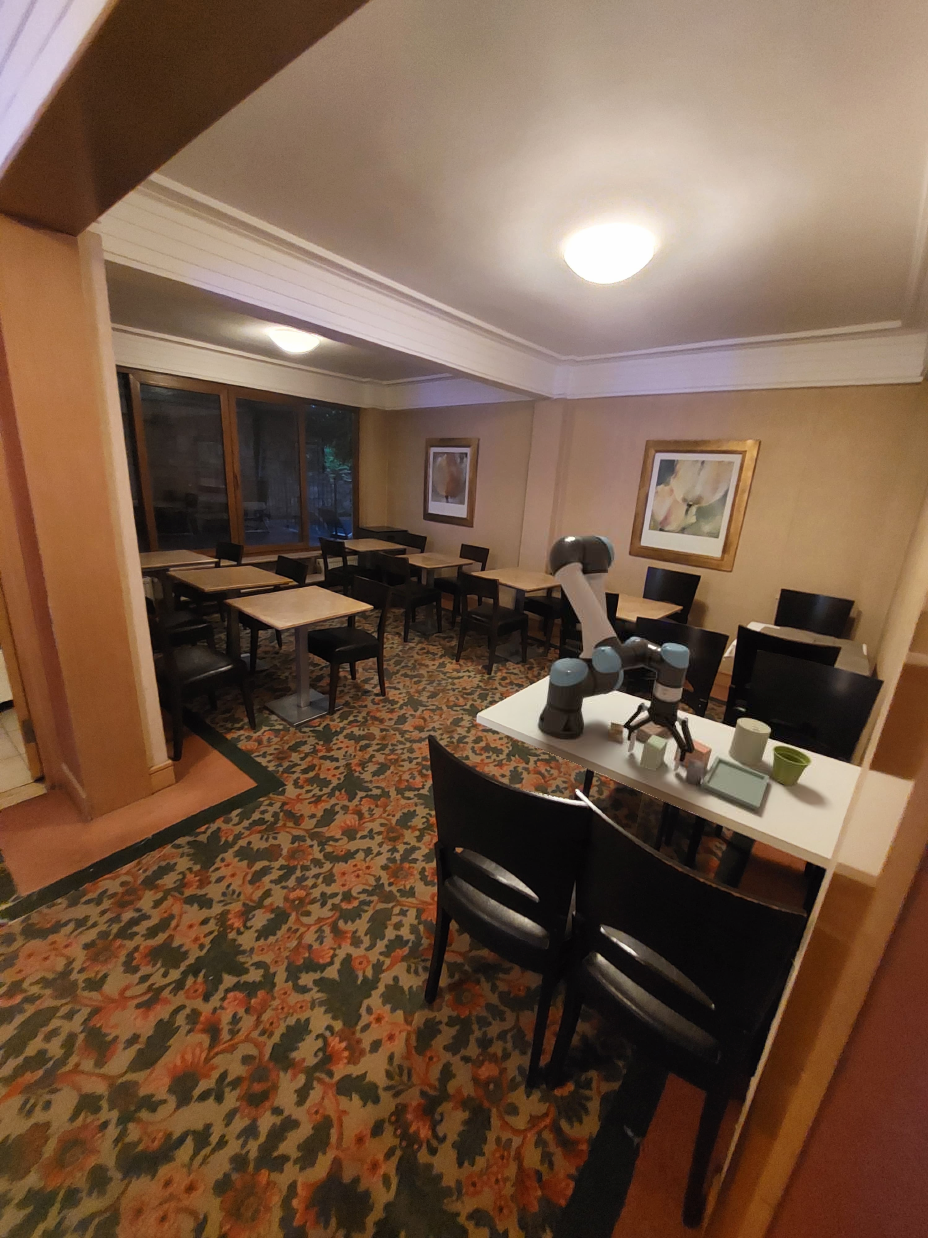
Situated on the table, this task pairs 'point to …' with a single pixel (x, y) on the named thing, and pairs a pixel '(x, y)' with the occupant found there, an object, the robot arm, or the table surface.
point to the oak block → (616, 731)
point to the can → (749, 741)
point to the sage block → (653, 752)
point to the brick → (649, 730)
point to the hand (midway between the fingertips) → (652, 759)
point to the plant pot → (788, 764)
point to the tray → (735, 783)
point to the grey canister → (694, 772)
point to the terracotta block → (696, 754)
